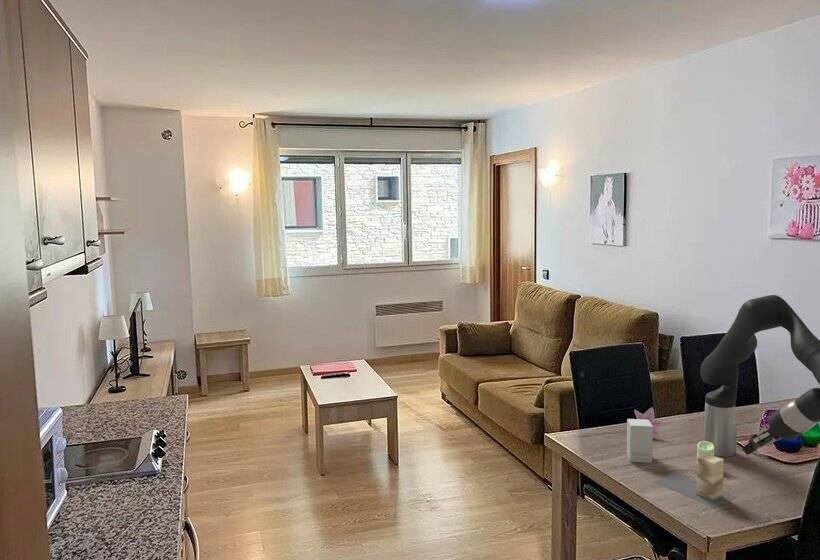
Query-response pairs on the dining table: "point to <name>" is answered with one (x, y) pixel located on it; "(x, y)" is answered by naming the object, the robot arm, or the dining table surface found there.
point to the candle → (705, 448)
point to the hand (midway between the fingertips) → (745, 451)
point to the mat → (690, 489)
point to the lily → (650, 416)
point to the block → (710, 477)
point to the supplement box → (639, 440)
